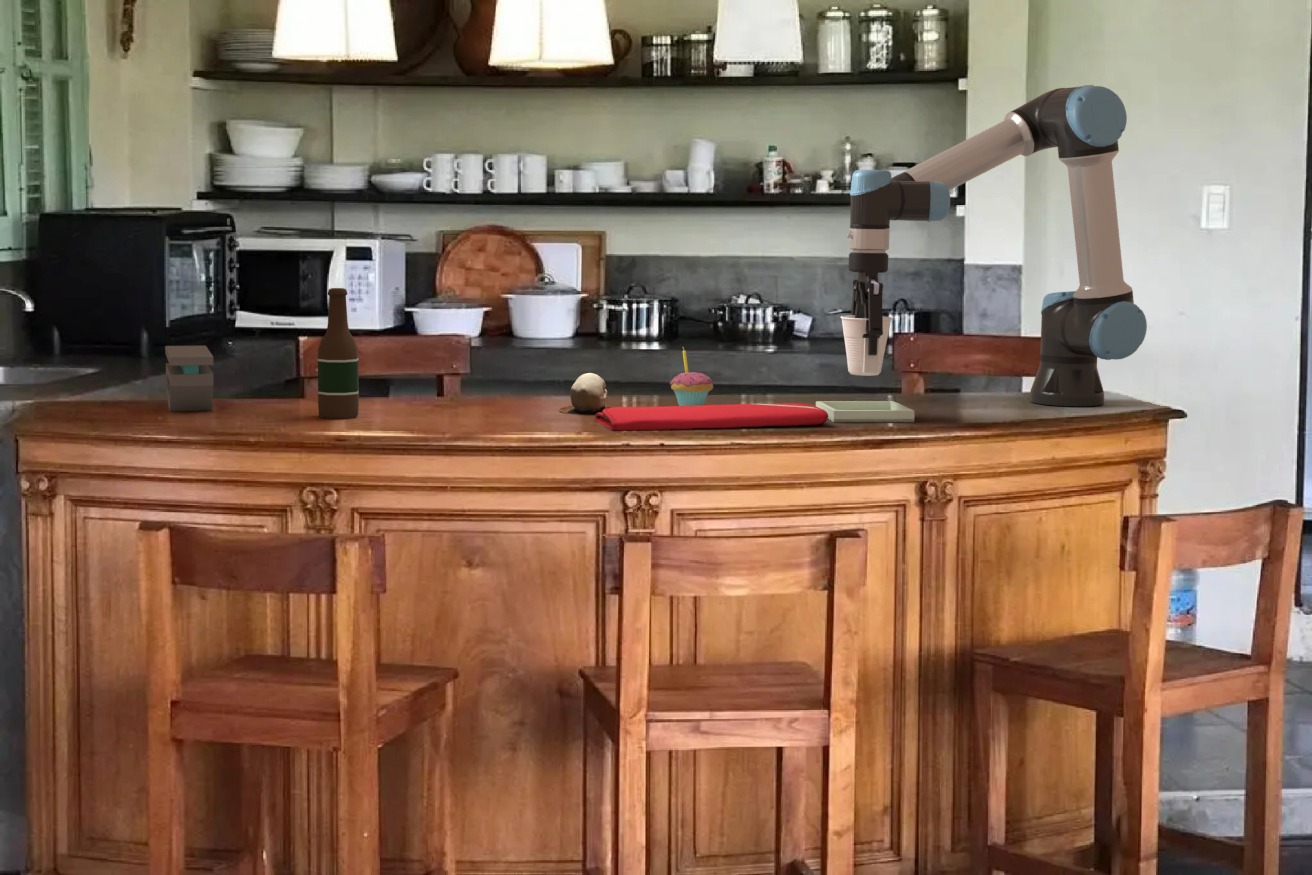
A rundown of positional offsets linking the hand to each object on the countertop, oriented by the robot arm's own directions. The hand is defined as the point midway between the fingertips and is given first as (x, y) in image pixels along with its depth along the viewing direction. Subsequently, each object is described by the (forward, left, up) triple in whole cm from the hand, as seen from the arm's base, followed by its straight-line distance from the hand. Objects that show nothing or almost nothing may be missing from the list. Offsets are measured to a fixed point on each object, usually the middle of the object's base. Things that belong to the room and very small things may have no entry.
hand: (864, 369), depth 358 cm
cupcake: (+31, -17, -9) cm, 36 cm away
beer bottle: (+100, -3, -9) cm, 100 cm away
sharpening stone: (+129, -19, -9) cm, 131 cm away
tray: (0, 0, -9) cm, 9 cm away
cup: (0, 0, -1) cm, 1 cm away
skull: (+52, -10, -10) cm, 54 cm away
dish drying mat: (+31, +9, -10) cm, 34 cm away
